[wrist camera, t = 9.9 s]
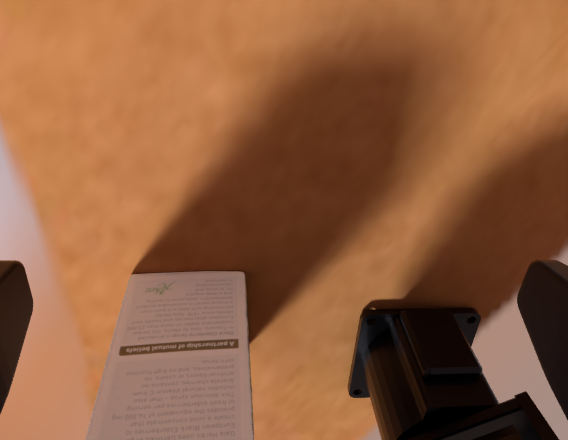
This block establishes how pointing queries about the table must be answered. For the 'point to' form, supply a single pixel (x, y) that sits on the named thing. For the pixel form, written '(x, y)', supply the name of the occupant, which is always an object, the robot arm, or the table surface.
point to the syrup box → (178, 361)
